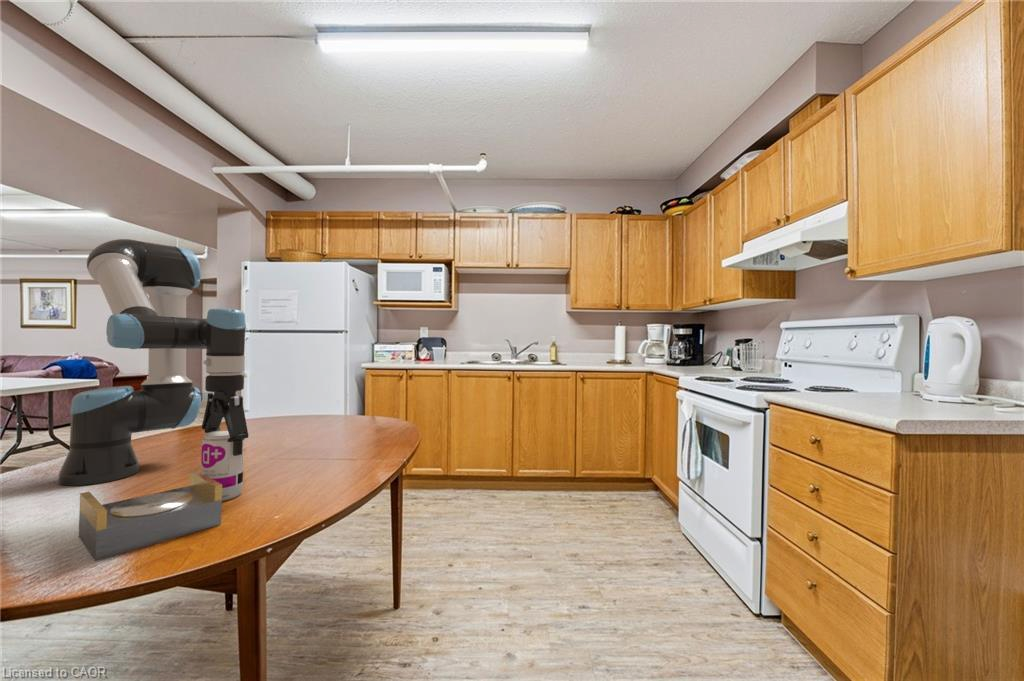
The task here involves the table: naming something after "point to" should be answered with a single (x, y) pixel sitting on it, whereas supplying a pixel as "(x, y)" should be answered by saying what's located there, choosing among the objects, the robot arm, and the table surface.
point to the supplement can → (220, 464)
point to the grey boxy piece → (149, 517)
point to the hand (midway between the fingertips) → (223, 464)
